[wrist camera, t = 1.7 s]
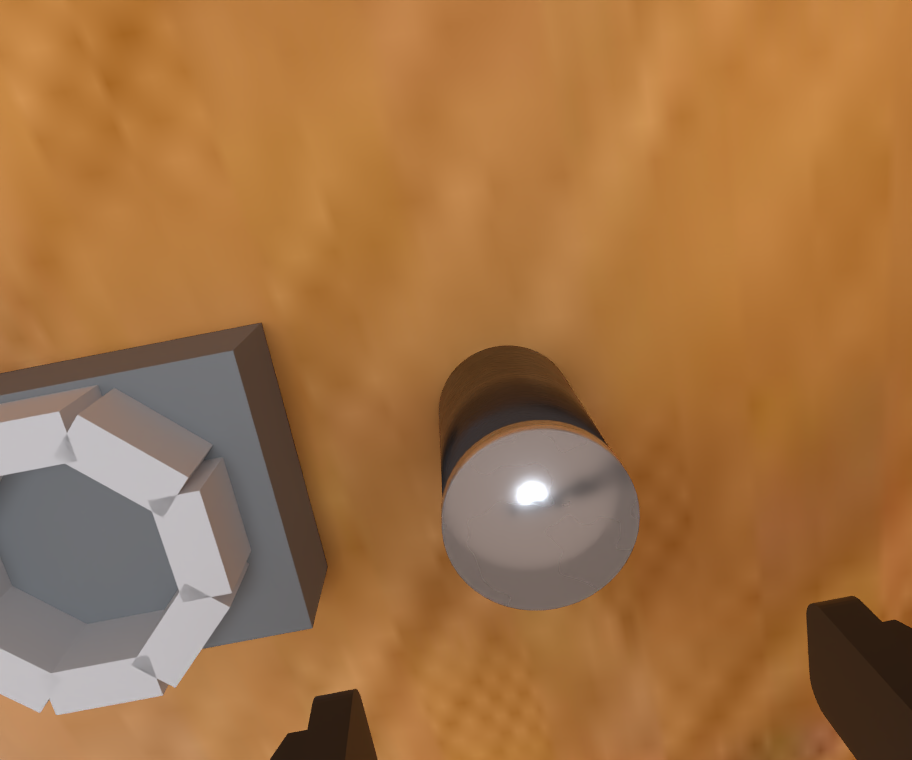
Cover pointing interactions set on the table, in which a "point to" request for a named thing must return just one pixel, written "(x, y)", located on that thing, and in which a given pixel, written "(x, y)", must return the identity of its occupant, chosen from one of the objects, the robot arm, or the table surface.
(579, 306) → the table surface
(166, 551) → the grey block with ring
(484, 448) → the lens
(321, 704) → the robot arm
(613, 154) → the table surface
